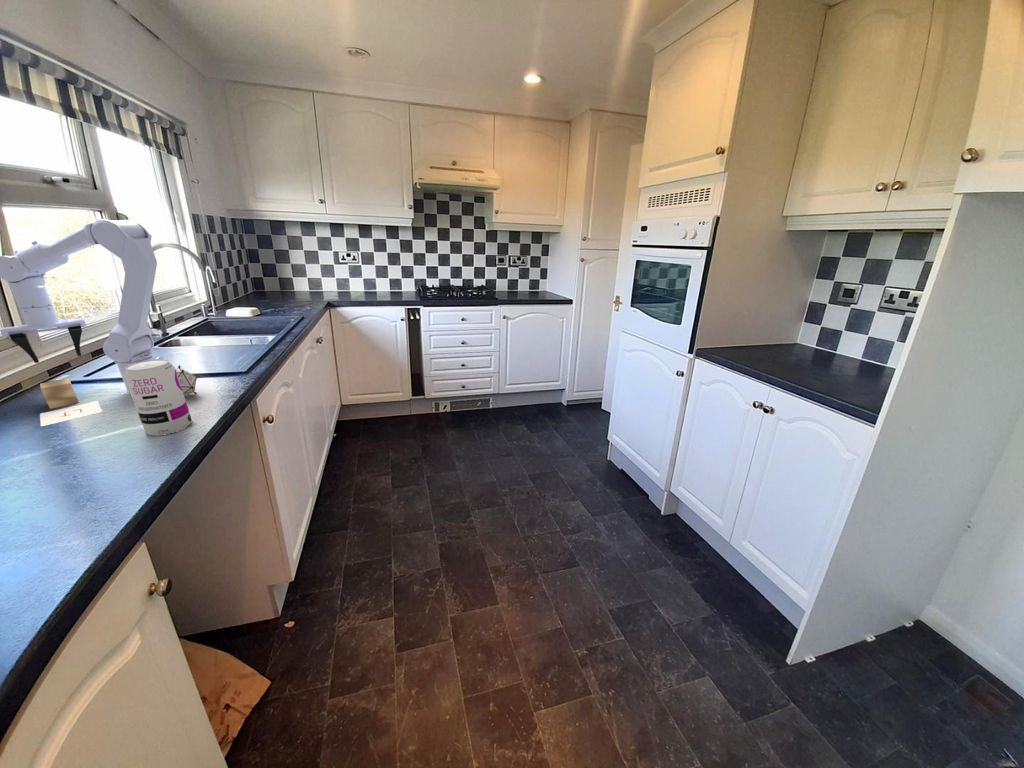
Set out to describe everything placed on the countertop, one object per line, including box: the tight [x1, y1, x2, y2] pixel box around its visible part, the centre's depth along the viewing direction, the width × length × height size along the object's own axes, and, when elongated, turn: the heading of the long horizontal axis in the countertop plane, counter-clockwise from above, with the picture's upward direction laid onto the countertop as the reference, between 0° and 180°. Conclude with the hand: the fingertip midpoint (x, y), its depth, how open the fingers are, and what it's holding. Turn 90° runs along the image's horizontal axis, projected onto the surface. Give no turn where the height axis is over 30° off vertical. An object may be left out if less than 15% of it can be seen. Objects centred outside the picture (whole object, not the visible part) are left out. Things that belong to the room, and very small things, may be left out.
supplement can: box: [124, 358, 193, 436], centre depth 88 cm, size 8×8×15 cm
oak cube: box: [39, 377, 80, 410], centre depth 102 cm, size 5×5×6 cm
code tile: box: [39, 400, 103, 427], centre depth 97 cm, size 10×10×1 cm
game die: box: [175, 364, 201, 397], centre depth 106 cm, size 9×8×10 cm
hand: (58, 358), depth 106 cm, fingers open, 7 cm apart
